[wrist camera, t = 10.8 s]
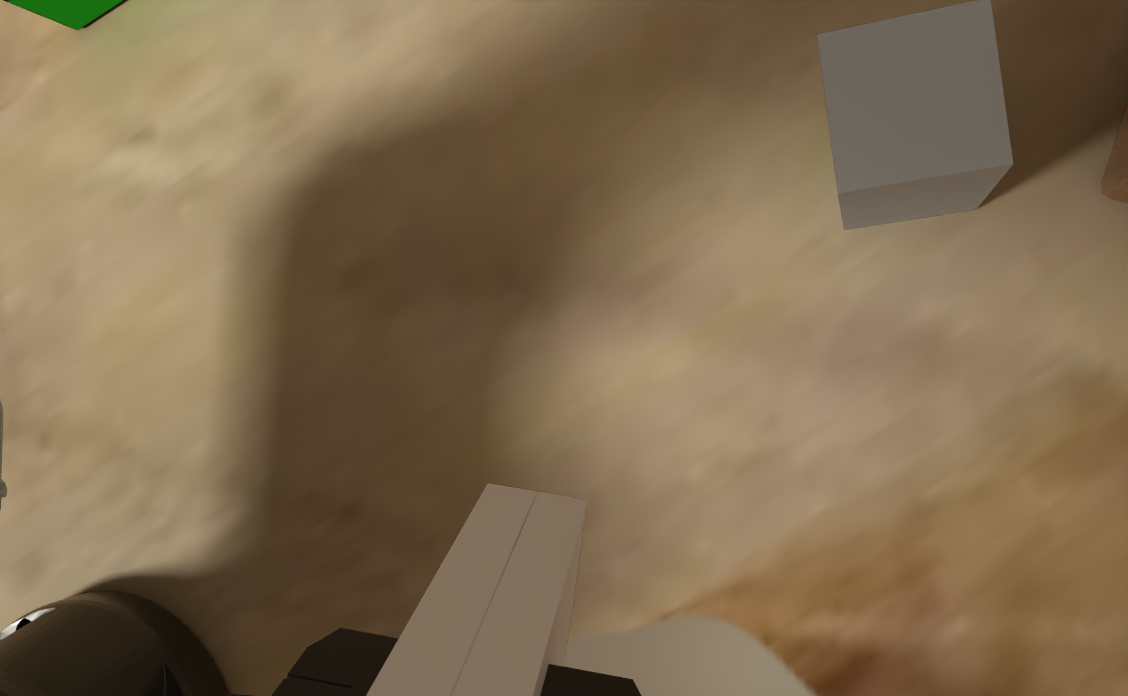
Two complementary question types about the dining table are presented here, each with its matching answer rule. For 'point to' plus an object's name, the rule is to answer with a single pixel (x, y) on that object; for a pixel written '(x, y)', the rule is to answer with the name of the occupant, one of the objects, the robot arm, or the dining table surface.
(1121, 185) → the wooden block
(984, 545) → the dining table surface
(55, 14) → the puzzle cube
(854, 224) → the slate post
